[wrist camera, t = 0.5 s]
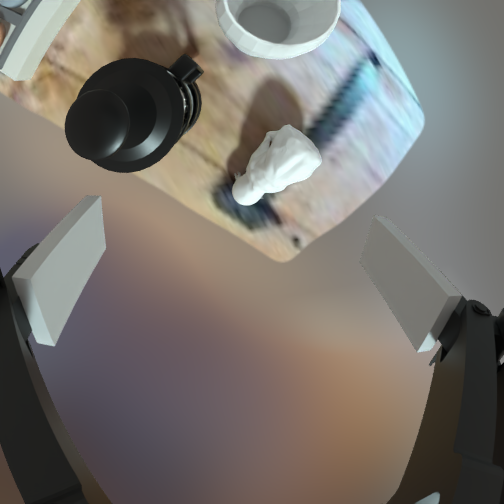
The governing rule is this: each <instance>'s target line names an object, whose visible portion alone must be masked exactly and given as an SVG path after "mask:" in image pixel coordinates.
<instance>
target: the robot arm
mask: <svg viewBox="0 0 504 504" xmlns="http://www.w3.org/2000/svg"><path fill="white" fill-rule="evenodd" d="M105 249H106V243H105V235H104V226H103V215H102V203H101V196H86V197H85V198H84V199H83V200H82V201H80V202H79V203H78V204H77V205H76V206H75V207H74V208H73V209H72V210H71V211H70V212H69V213H68V214H67V216H65V217H64V219H62V221H61V222H60V223H59V224H58V225H57V226H56V227H55V228H54V229H53V230H52V231H51V232H50V233H49V234H48V235H47V236H46V238H45V239H44V240H43V241H42V242H41V243H38V244H36V245H34V246H32V247H31V248H29V249H28V250H27V251H26V252H25V253H24V255H23V256H22V257H21V258H20V259H19V260H18V261H17V262H16V264H15V265H14V266H13V267H12V268H11V270H10V271H9V272H8V273H7V274H6V276H5V277H4V278H3V276H2V272H1V269H0V444H1V447H2V449H3V452H4V455H5V458H6V461H7V463H8V466H9V468H10V471H11V473H12V475H13V478H14V480H15V482H16V485H17V487H18V489H19V491H20V493H21V495H22V498H23V500H24V502H25V504H112V503H111V501H110V500H109V498H108V497H107V495H106V494H105V493H104V491H103V490H102V488H101V487H100V486H99V484H98V482H97V481H96V479H95V478H94V476H93V475H92V473H91V472H90V470H89V469H88V467H87V466H86V464H85V462H84V460H83V459H82V457H81V455H80V454H79V452H78V450H77V448H76V447H75V445H74V443H73V441H72V440H71V438H70V436H69V434H68V432H67V430H66V428H65V426H64V424H63V422H62V420H61V418H60V416H59V414H58V412H57V410H56V408H55V406H54V403H53V401H52V399H51V397H50V394H49V392H48V390H47V387H46V385H45V383H44V380H43V378H42V375H41V373H40V370H39V367H38V365H37V362H36V359H35V356H34V354H33V351H32V348H31V345H30V343H29V341H28V336H29V335H30V333H31V331H32V332H33V334H34V336H35V339H36V341H37V343H41V344H46V345H51V346H55V345H56V342H57V340H58V338H59V336H60V334H61V331H62V329H63V327H64V325H65V323H66V321H67V319H68V317H69V315H70V313H71V311H72V309H73V307H74V305H75V303H76V301H77V299H78V297H79V296H80V294H81V292H82V290H83V288H84V286H85V284H86V282H87V281H88V279H89V277H90V275H91V273H92V272H93V270H94V268H95V266H96V265H97V263H98V261H99V259H100V258H101V256H102V254H103V253H104V251H105ZM359 262H360V264H361V265H362V267H363V268H364V270H365V271H366V273H367V274H368V276H369V277H370V279H371V280H372V282H373V283H374V285H375V286H376V288H377V289H378V291H379V292H380V294H381V295H382V296H383V298H384V300H385V301H386V303H387V304H388V306H389V308H390V309H391V311H392V312H393V314H394V315H395V317H396V319H397V320H398V322H399V323H400V325H401V327H402V328H403V330H404V332H405V333H406V335H407V337H408V338H409V340H410V341H411V343H412V345H413V346H414V348H415V350H416V352H422V351H429V350H431V349H432V347H433V346H434V344H435V343H436V341H437V339H438V340H439V341H440V343H441V344H442V345H441V347H440V348H439V350H438V351H437V353H436V354H435V356H434V357H433V359H432V360H431V362H430V364H429V365H430V366H431V365H432V363H434V362H435V367H434V373H433V378H432V382H431V387H430V392H429V395H428V400H427V404H426V408H425V411H424V415H423V419H422V422H421V426H420V429H419V433H418V436H417V439H416V442H415V445H414V448H413V451H412V454H411V457H410V460H409V462H408V465H407V468H406V470H405V474H404V476H403V478H402V481H401V483H400V486H399V488H398V490H397V491H396V493H395V494H394V495H393V497H392V498H391V499H390V500H389V501H388V502H387V504H504V363H503V364H502V365H501V363H500V359H501V358H502V356H503V355H504V308H503V309H502V311H501V313H500V314H499V316H498V317H496V316H492V314H491V312H490V310H489V309H488V308H487V307H486V306H485V305H483V304H482V303H480V302H479V301H476V300H469V301H467V300H466V299H465V298H464V297H463V296H462V294H461V293H460V292H459V291H458V290H457V289H456V288H455V287H454V285H453V284H452V283H451V282H450V281H449V280H448V279H447V278H446V276H444V275H443V273H442V272H441V271H440V270H439V269H438V268H437V267H436V266H435V265H434V264H433V263H432V262H431V261H430V260H429V259H428V258H427V257H426V256H425V255H424V254H423V253H422V252H421V250H420V249H419V248H418V247H416V245H415V244H413V242H411V240H409V238H407V237H406V236H405V235H404V234H403V233H402V232H401V231H400V230H399V229H398V228H397V227H396V226H395V225H394V224H393V223H392V222H391V221H390V220H389V219H388V218H387V217H383V216H375V215H374V216H373V219H372V223H371V226H370V230H369V233H368V236H367V239H366V243H365V246H364V249H363V252H362V255H361V258H360V261H359Z"/></svg>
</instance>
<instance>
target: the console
mask: <svg viewBox="0 0 504 504" xmlns="http://www.w3.org/2000/svg"><path fill="white" fill-rule="evenodd" d="M80 1H81V0H28V1H27V2H26V3H24V4H23V5H22V6H20V7H18V8H10V7H5V6H2V5H1V4H0V22H1V23H3V24H4V25H5V28H6V35H5V39H4V42H3V44H2V46H1V47H0V71H1V72H2V73H4V74H6V75H7V76H9V77H10V78H12V79H13V80H15V81H19V80H31V78H32V76H33V74H34V72H35V70H36V69H37V67H38V65H39V63H40V61H41V60H42V58H43V56H44V54H45V53H46V51H47V49H48V48H49V46H50V44H51V43H52V41H53V39H54V38H55V36H56V35H57V33H58V32H59V30H60V29H61V27H62V26H63V24H64V23H65V21H66V20H67V18H68V17H69V16H70V14H71V13H72V11H73V10H74V9H75V7H76V6H77V5H78V3H79V2H80Z"/></svg>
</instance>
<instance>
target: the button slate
mask: <svg viewBox="0 0 504 504" xmlns="http://www.w3.org/2000/svg"><path fill="white" fill-rule="evenodd" d="M27 1H28V0H0V4H1V5H2V6H5V7H10V8H18V7H20V6H22V5H23V4H24V3H26V2H27Z"/></svg>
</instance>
